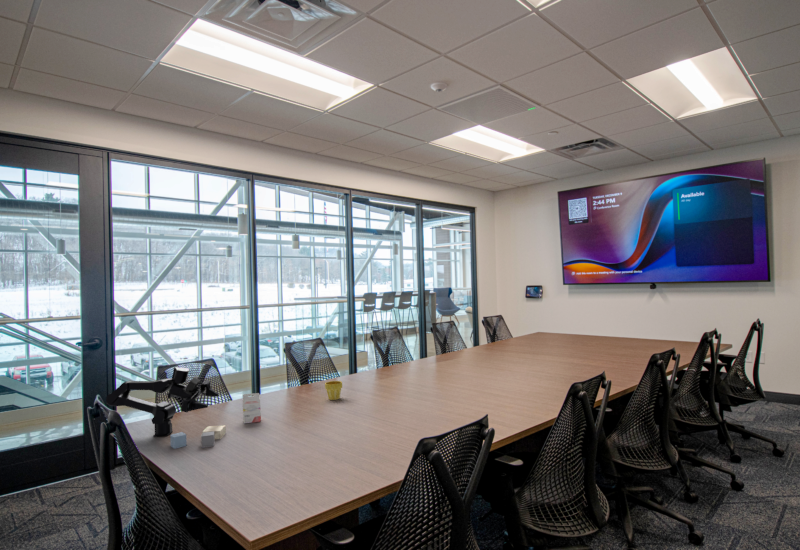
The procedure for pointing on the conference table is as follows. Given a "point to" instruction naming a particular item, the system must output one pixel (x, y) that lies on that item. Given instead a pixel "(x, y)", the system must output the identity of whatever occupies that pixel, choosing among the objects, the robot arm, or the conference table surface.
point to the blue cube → (178, 440)
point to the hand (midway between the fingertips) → (213, 400)
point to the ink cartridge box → (251, 408)
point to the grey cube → (207, 439)
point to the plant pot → (333, 389)
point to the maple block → (216, 431)
